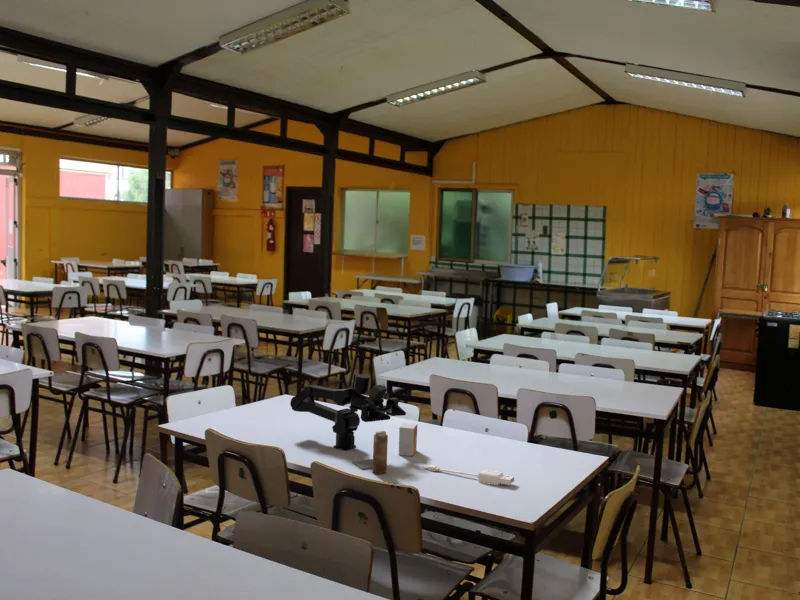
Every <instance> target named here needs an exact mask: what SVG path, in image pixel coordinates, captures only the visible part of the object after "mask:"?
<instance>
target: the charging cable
mask: <svg viewBox="0 0 800 600" xmlns="http://www.w3.org/2000/svg"><path fill="white" fill-rule="evenodd" d="M423 469H427V471H429V472H433V471H435V472H439V471H440V472H447V473H451V474H452V473H453V474H459V475H465V476H466V475H467V476H472V477H477V479H478V480H477V481H479V482H478V483H481V482H485V483H484V484H487V483H490V484H489V485H492V484H494V485H493V486H497V485H498V484H499V485H501V484H502V485H507V486H510V485H512V483H514V482H515V476H513V475H512V476H511V475H506V474H504V473H503V472H502V471H495V470H490V469H483V470H481V471H479V472H478V473H470V472H464V471H458V470H451V469H445V468H441V467H439V466H438V465H434V464H430V465H428V466H424V467H423ZM500 483H501V484H500ZM499 485H498V486H499Z"/></svg>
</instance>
